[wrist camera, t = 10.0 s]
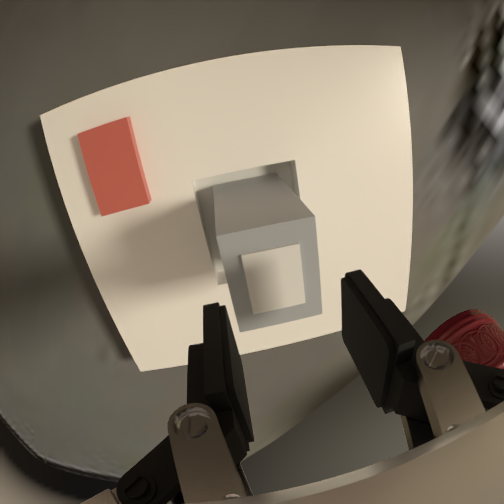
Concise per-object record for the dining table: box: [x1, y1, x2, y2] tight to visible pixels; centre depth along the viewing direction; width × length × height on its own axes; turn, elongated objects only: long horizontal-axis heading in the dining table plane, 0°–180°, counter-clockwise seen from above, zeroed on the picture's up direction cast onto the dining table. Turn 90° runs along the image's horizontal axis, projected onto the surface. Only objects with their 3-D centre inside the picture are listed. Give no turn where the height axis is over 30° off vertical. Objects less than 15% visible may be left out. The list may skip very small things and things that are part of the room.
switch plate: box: [40, 45, 413, 371], centre depth 20 cm, size 22×20×3 cm
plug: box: [213, 173, 322, 332], centre depth 17 cm, size 4×5×8 cm
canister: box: [424, 309, 504, 369], centre depth 24 cm, size 13×13×18 cm
